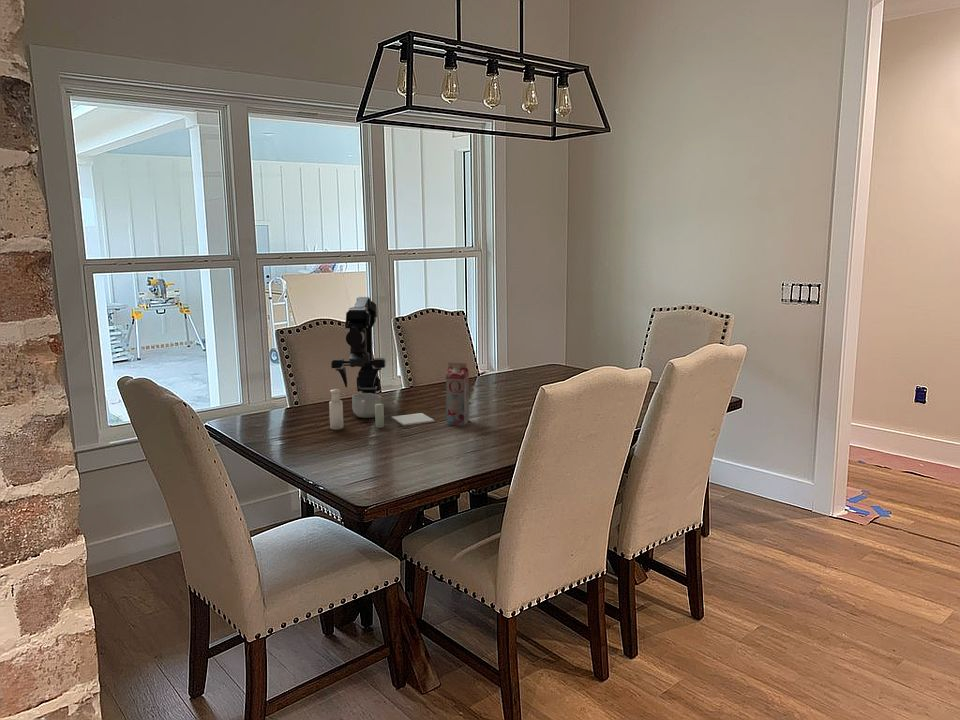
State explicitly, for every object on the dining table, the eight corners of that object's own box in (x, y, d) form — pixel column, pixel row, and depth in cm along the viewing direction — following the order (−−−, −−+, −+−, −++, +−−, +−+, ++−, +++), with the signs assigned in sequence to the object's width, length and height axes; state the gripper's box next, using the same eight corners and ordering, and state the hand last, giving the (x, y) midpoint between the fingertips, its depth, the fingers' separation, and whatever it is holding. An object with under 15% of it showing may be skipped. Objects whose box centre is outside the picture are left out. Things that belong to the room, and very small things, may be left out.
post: (374, 426, 270) (373, 404, 269) (382, 425, 272) (381, 403, 270) (377, 428, 268) (376, 406, 266) (385, 427, 269) (384, 405, 268)
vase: (328, 427, 269) (327, 389, 267) (341, 425, 271) (339, 388, 269) (332, 430, 265) (330, 392, 263) (345, 428, 267) (343, 390, 265)
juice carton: (464, 425, 271) (464, 364, 267) (446, 424, 272) (446, 364, 269) (468, 420, 278) (468, 361, 274) (451, 419, 279) (450, 360, 275)
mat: (391, 418, 282) (391, 416, 281) (421, 414, 287) (421, 412, 287) (403, 425, 271) (403, 424, 271) (434, 421, 276) (434, 420, 276)
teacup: (358, 412, 291) (358, 391, 290) (385, 413, 289) (385, 392, 287) (345, 421, 278) (344, 399, 276) (373, 422, 275) (372, 401, 274)
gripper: (328, 346, 262) (329, 391, 264) (383, 346, 263) (383, 390, 265) (332, 343, 273) (334, 386, 275) (385, 342, 274) (386, 385, 276)
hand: (359, 387), depth 272 cm, fingers open, 9 cm apart
